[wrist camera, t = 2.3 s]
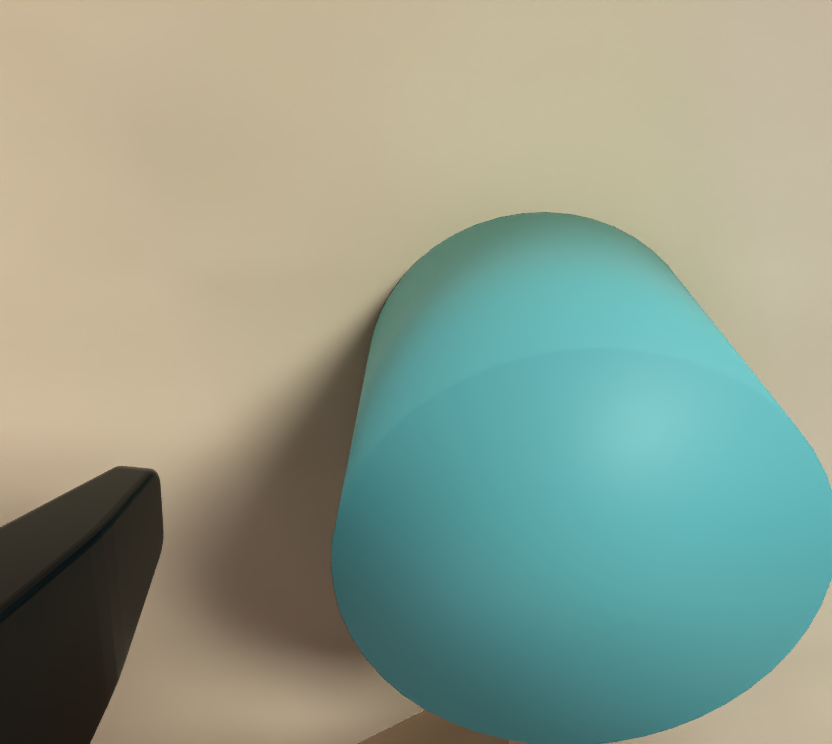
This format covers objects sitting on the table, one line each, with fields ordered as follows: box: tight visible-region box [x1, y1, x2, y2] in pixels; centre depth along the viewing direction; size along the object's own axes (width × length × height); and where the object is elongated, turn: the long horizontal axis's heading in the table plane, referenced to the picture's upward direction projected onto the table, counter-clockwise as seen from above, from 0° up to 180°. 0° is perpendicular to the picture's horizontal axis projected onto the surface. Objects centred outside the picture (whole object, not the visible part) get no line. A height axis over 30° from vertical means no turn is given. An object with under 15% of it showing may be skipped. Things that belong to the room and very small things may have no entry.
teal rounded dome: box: [331, 212, 832, 744], centre depth 10 cm, size 5×5×4 cm
